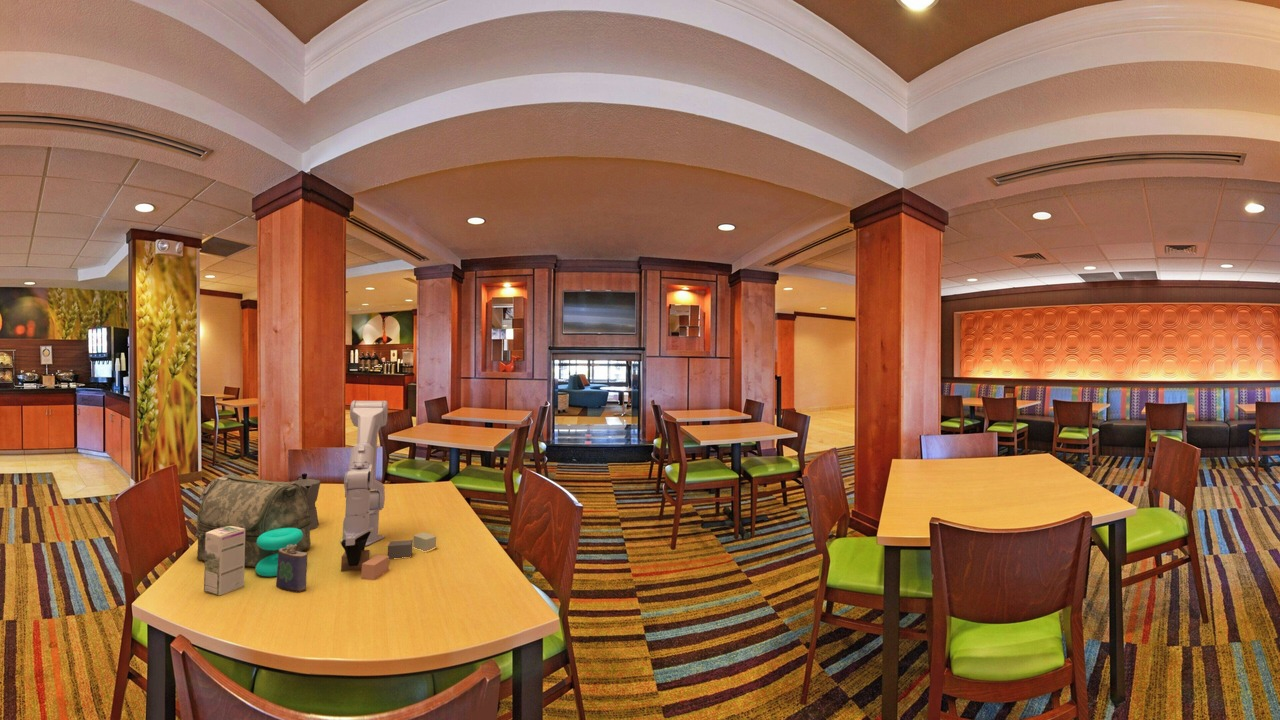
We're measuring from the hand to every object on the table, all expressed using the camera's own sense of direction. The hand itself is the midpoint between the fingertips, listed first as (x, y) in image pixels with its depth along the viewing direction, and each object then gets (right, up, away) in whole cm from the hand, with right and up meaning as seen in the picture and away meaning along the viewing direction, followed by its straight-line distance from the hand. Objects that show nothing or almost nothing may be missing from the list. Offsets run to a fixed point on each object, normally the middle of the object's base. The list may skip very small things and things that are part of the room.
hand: (355, 562), depth 132 cm
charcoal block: (+8, -2, +9) cm, 12 cm away
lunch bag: (-33, 0, +6) cm, 34 cm away
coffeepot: (-35, -1, +29) cm, 45 cm away
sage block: (+12, -2, +15) cm, 19 cm away
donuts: (-19, -1, -3) cm, 19 cm away
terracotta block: (+7, -2, -4) cm, 8 cm away
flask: (-9, -1, -12) cm, 15 cm away
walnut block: (0, -1, 0) cm, 1 cm away
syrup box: (-24, -1, -14) cm, 28 cm away
